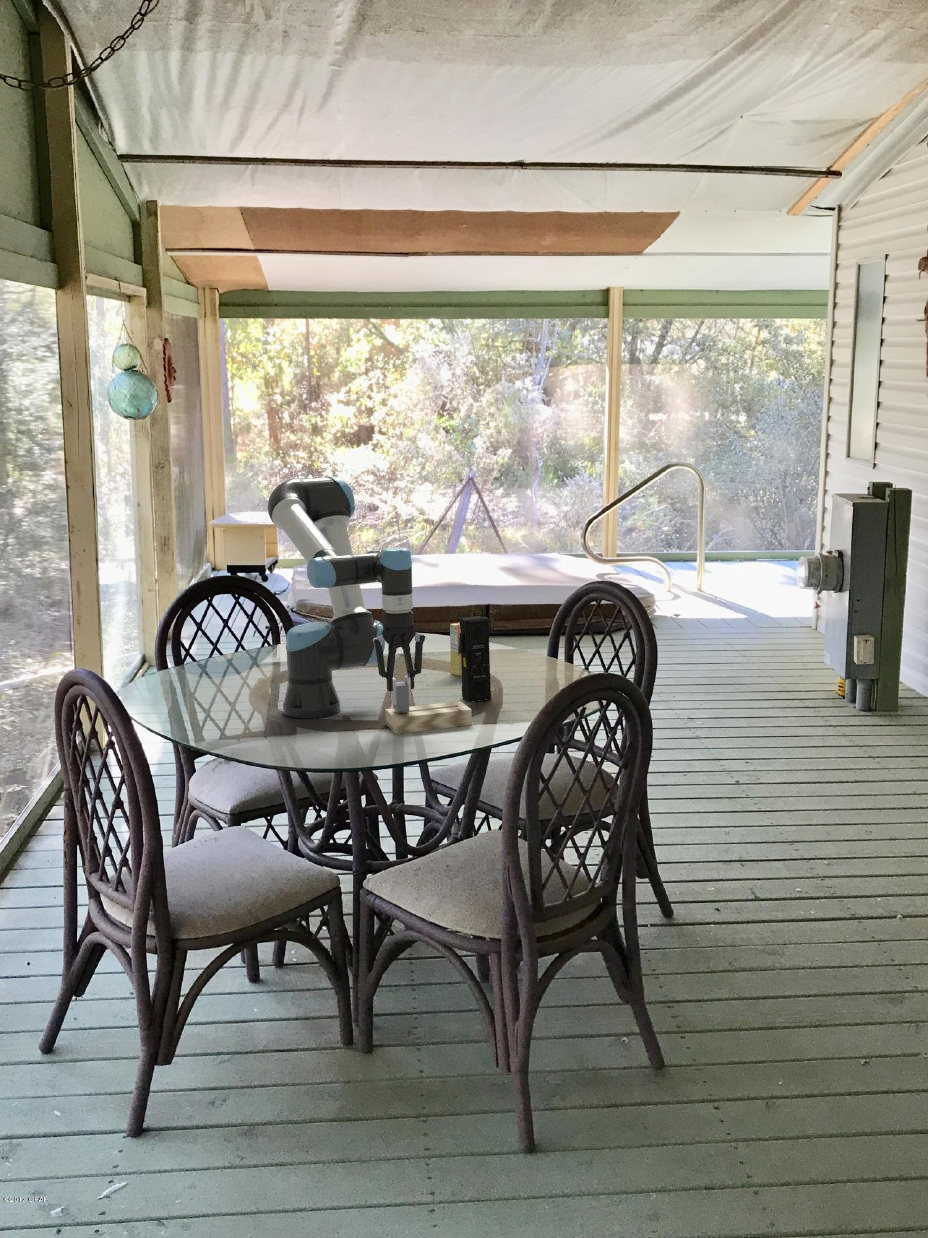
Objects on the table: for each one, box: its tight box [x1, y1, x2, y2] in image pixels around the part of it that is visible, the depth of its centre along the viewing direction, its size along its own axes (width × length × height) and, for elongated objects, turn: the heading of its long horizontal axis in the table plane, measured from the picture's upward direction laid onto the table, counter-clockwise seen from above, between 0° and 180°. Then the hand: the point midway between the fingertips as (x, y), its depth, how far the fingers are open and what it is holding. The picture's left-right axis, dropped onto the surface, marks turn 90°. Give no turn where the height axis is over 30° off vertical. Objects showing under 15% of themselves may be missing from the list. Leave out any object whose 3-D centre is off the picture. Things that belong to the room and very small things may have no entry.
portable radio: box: [459, 607, 492, 703], centre depth 313 cm, size 8×6×25 cm
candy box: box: [449, 622, 462, 677], centre depth 345 cm, size 9×4×15 cm, turn 129°
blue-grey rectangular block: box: [392, 680, 410, 713], centre depth 288 cm, size 3×4×7 cm
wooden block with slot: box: [384, 700, 473, 735], centre depth 291 cm, size 20×9×4 cm, turn 109°
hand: (401, 702), depth 288 cm, fingers closed on blue-grey rectangular block, 3 cm apart
